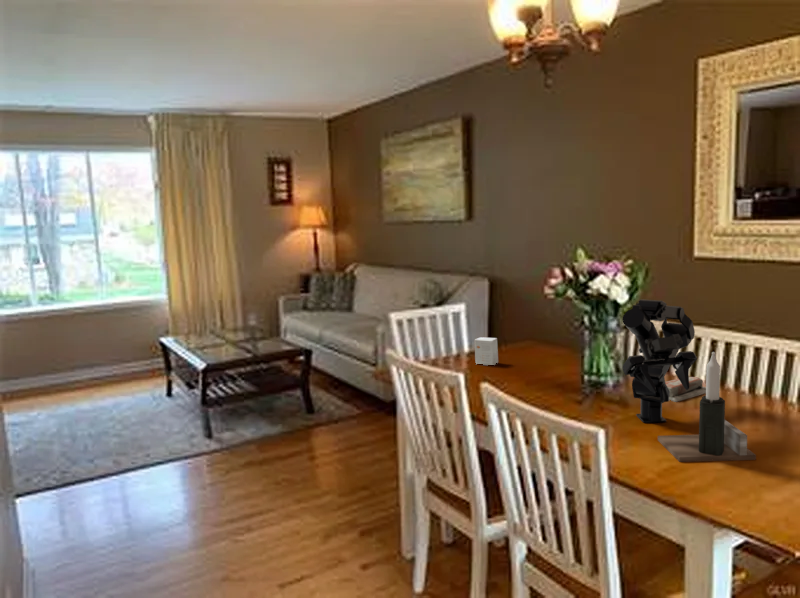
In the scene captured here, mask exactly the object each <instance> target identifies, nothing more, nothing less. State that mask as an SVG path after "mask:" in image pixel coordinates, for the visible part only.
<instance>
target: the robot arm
mask: <svg viewBox="0 0 800 598" xmlns="http://www.w3.org/2000/svg"><path fill="white" fill-rule="evenodd" d="M667 320H678V321H679V322H680V323H677V322H668V321H667ZM652 321H657V322H662V324H661V331H662V334H663V337H660V335H659V332H658V330H657V328H656V327H655V324H654V322H652ZM622 324H623V325H624V326H625V327H626V328H627V329H628V330H629V331H630V333H631V334H633V335H634V336H635V338H636V340H637V343H638V345H639V349H638V351H639V355H629V356H628V358H627V359H626V360H625V361H624V362H623V364H622V371H623V373H624V375H625V376H627V375H628V376H629V377H631V378H633V379H632V381H631V388H632V395H633V398H634V399H640V413H636V414H635V416H636V417H637V418H638V419H639V420H640V421H641V422H642V423H644V424H646V423H666V422H667V419H666V418H665V417H663V415H662V414H663V404H664V403H668V402H670V400H669V397H670V395H669V394H670V391H669V389H668V387H667V385H666V383H665V382H666V379H665V376H666V375H667V373H668V370H669V368H670V367H671V366H672V368H673V369H674V370H675V371H674V373H675V375H676V376H677V379H679V380H680V382H681V383H682V385H683V386H684V388H685V389H686V390H688V389H689V377H690V376H689V374H690V368H691V367H692V366H693V365H694V363H695V362H696V361H697V360H698V357H697V356H696V353H695V352H694V351H692V350H689V351H680V350H681V349H683V348H686V347H688V346H689V344H690V343H691V342H692V340H693V339H694V338H695V335H696V334H695V333H696V332H695V326H694V323H693V320H692V319H691V318H690V317H689V315H688V316H687V314H686V313H685V309H684V307H682V306H678V305H677V306H676V305H667V303H666V302H665V301H663V300H655V299H643V298H642V299H639V300H638V303H636V304H635V305H632V308H631V309H628V310H627V311H626V312H625V313H624V314H623V315H622ZM641 354H642V355H641Z"/></svg>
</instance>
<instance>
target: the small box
mask: <svg viewBox="0 0 800 598" xmlns="http://www.w3.org/2000/svg"><path fill="white" fill-rule="evenodd" d="M474 360H475V363H476V364H475V365H477V364H483V365H482V366H488V365H494V366H495V365H497V364H498V363H499V351H498V338H497V337H483V336H482V337H481V336H480V337H478V338H475V339H474ZM496 363H497V364H496Z"/></svg>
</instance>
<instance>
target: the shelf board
mask: <svg viewBox="0 0 800 598" xmlns="http://www.w3.org/2000/svg"><path fill="white" fill-rule="evenodd" d="M657 442H659V443H660V444H661V445H662V446H663V447H664V448H665V449H666V450H667V451H668V452H669V453H670V454H671V455H672V456H673V457H674V458H675V459H676V460H677V461H678V462H680V463H681V462H682V463H683V462H685V463H686V462H717V461H718V462H719V461H720V462H721V461H722V462H723V461H751V460H752V461H753V460H754V461H756V460H757V455H756V454H755V453H754V452H753V451H752V450H750V449H749V448H748V434H746V433H745V432H743V431H742V430H740V429H739V428H737V426H734V425H733V424H732V423H730V422H729V421H727V420H726V419H725V423H724V451H723V453H722V455H720V456H716V455H712V454H706V453H701V452H699V434H679V435H678V434H676V435H675V434H673V435H671V434H670V435H657Z"/></svg>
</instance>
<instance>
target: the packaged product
mask: <svg viewBox="0 0 800 598" xmlns="http://www.w3.org/2000/svg"><path fill="white" fill-rule="evenodd" d="M703 381H704V380H703V379H702V378H700V377H698V376H689V389H688V390H686V389H685V388H684V386H683V385H682V383H681V382H680V380H679V378H677V379H672V380H668V381H667V380H666V381H665V383H666V385H667V387H668V389H669V391H670V394H669V395H670V397H669V401H670V400H671V402H674V403H678V402H681V401H685V400H688V399H691V398H694V397H698V396H701V395H706V386H703V385H704V384H703V383H704V382H703Z"/></svg>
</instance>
